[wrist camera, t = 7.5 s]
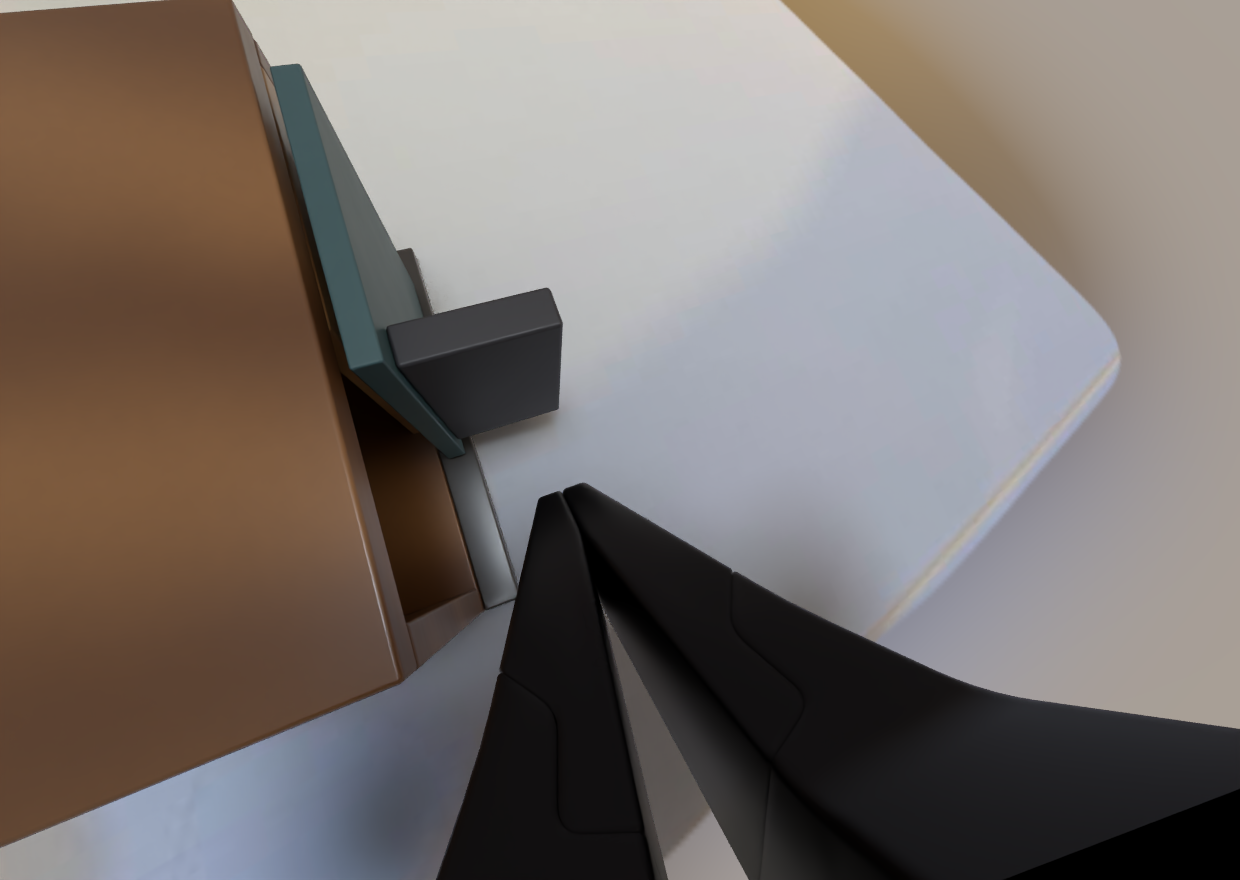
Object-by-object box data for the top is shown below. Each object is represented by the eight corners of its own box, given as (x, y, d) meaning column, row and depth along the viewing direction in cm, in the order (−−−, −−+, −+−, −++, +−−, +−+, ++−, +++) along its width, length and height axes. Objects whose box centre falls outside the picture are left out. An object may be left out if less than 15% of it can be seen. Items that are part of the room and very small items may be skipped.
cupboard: (521, 595, 16) (483, 650, 7) (227, 710, 14) (-336, 988, 5) (415, 256, 18) (292, -13, 9) (154, 311, 16) (-306, 34, 7)
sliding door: (561, 424, 16) (568, 314, 9) (448, 459, 16) (348, 370, 8) (504, 263, 18) (467, 43, 10) (397, 286, 17) (267, 64, 9)
